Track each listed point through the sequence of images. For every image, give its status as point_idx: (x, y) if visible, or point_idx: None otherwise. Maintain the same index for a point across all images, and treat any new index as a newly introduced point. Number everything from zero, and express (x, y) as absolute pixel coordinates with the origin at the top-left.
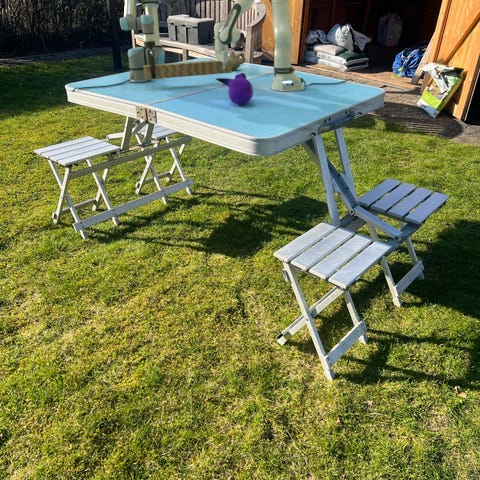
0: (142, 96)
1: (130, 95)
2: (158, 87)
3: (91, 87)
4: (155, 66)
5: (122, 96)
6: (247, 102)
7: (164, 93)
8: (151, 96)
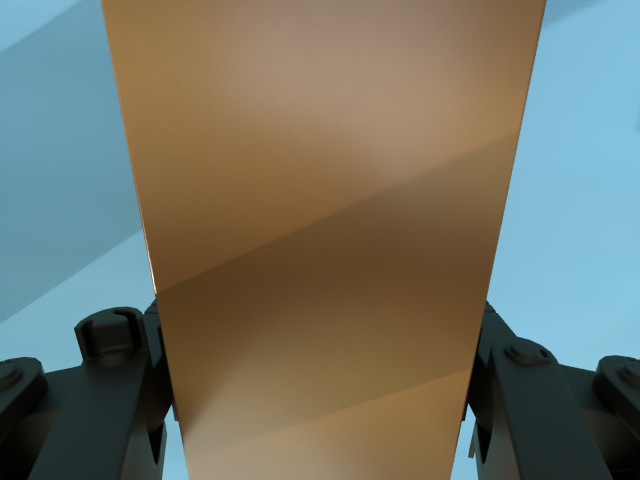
0: (570, 349)
1: (470, 424)
2: None
3: None
4: (470, 336)
5: (473, 472)
6: None
7: (576, 127)
8: (627, 278)
